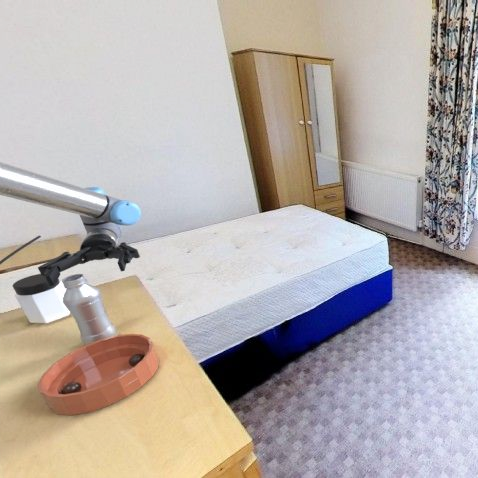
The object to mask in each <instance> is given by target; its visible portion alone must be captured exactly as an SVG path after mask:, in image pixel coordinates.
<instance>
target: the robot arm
mask: <svg viewBox="0 0 478 478" xmlns="http://www.w3.org/2000/svg"><path fill="white" fill-rule="evenodd" d="M0 196H2V197H6V198H10V199H14V200H18V201H23V202H27V203H31V204H35V205H38V206H39V205H40V206H42V207H47V208H51V209H55V210H60V211H63V212H68V213H72V214H76V215H79V218H80V220H81V221H82V224H83V227H84V230H85V231H86V235H85V237H84V239H83V241H82V242H81V244H80V247H79V250H78V251H76V252H73V253H71V252H70V251H63V252H62V253H61V255H59V256H56V257H55V258H53V259H51V260H49V261H47V262H44V263H42V264H41V265H40V266H38V267H37V269H38V272H39V274H41V275H42V276H45V277H46V279H47V281H48V283H49V285H50V286H52V285H55V283H56V281H57V280H58V279H59V278H60V276H61V273H62V272H64V271H66V270H69V269H71V268H74V267H75V266H78V265H84V264H87V263H88V262H93V261H103V260H107V259H109V260H112V259H117V260H118V261H117V265H118V268H119V271H120V272H125V271H126V267H127V264H130V263H131V262H132V260H133V259H139V258H141V256H140V253H139V250H138V249H137V248H135V247H132V246H130V245H129V244H127V243H126V242H125V241H124V242H123V241H122V242H120V244H118V243H119V239H121V236H122V235H121V234H122V228H121V226H125V227H126V226H132V225H134V224H136V223H138V222H139V220H141V217H142V210H141V208H140V206H139V205H137V204H136V203H135V202H131V201H129V200H126V199H125V200H124V199H119V198H116V197H114V196H111V195H107V194H106V193H105V191H104V189H103V188H102V187H99V186H90V187H89V186H88V187H81V186H78V185H75V184H72V183H70V182H69V183H68V182H66V181H62V180H59V179H57V178H52V177H49V176H46V175H43V174H40V173H37V172H33V171H32V170H31V171H30V170H27V169H25V168H21V167H18V166H14V165H11V164H8V163H5V162H2V161H0ZM40 238H42V236H41V235H38V236H36V237H33V238H32V239H31V240H29V241H28V242H26V243H25V244H23V245H21V246H20V247H18V248H16V249H15V250H14V251H12V252H11V253H9V254H7V255H6V256H4V257H3V259H1V260H0V265H2V264H3V263H4V262H6V261H7V260H9V259H10V258H11V257H13V256H14V255H16V254H17V253H18V252H20V251H22V250H23V249H25V248H26V247H28V246H29V245H31V244H33V243H34V242H36V241H37V240H39V239H40Z"/></svg>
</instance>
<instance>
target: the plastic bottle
mask: <svg viewBox="0 0 478 478" xmlns="http://www.w3.org/2000/svg"><path fill="white" fill-rule="evenodd" d="M61 281H62V283H63V285H64V288H65V289H66V292H65V294H64V296H63V303H64V305H65V306H66V308H67V309H68V310H69V311H70V314H71V315H72V317H73V319H74V320H75V323H76V324H77V327H78V330H79V334H80V340H81V344H82V345H83V346H85V345H88V344H91V343H93V342H96V341H99V340H101V339H105V338H109V337H113V336H117V335H118V329H117V327H116V326H115V324H114V323H113V322H112V321H111V319H110V317H109V316H108V314H107V311H106V310H105V309H106V308H105V306H104V302H103V296H102V292H101V290H100V289H99V288H98V287H96V286H95V285H94V284H90V283H88V279H87V278H86V276H85V275H84V274H83V273H75V274H71V275H68V276H65V277H64V278H62V279H61Z"/></svg>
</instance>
